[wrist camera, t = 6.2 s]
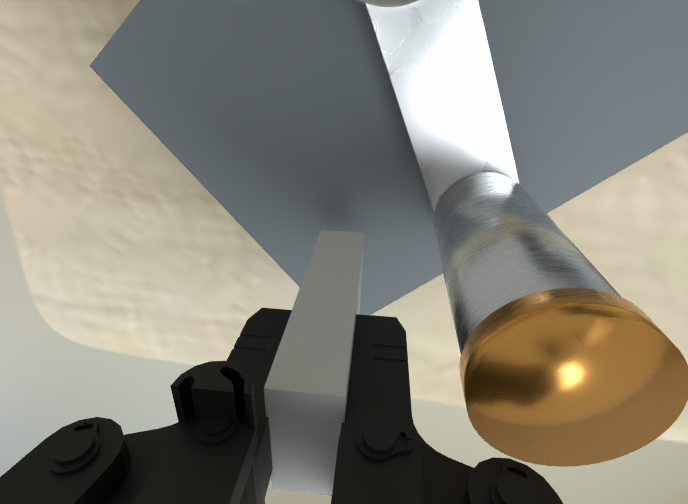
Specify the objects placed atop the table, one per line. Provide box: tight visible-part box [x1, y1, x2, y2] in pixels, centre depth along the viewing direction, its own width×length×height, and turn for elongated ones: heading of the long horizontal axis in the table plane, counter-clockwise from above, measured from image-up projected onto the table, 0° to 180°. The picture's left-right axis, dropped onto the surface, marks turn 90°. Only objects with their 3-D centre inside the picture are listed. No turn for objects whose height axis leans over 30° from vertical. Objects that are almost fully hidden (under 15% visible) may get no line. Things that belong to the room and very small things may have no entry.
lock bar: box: [354, 0, 688, 466], centre depth 9 cm, size 13×4×10 cm, turn 23°
